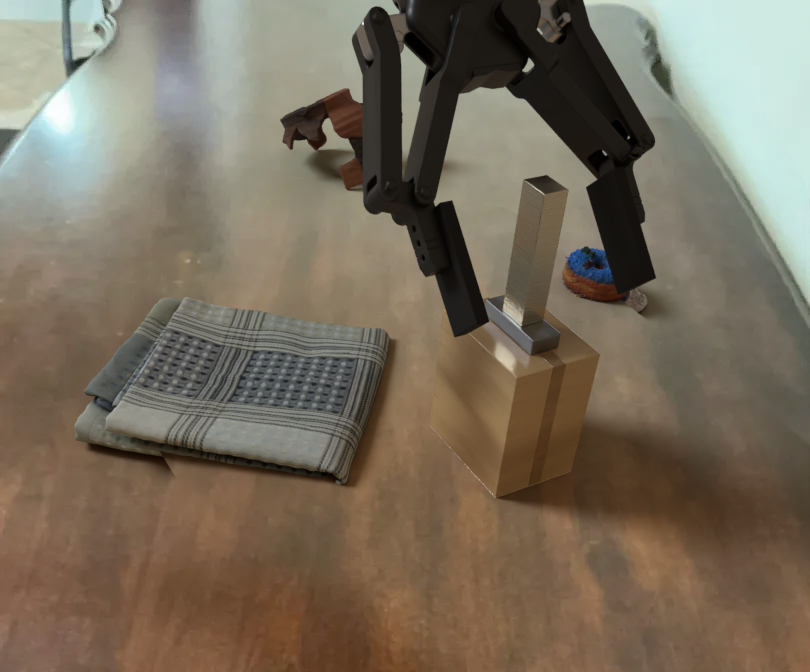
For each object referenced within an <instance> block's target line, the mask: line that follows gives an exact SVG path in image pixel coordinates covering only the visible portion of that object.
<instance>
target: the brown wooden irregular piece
mask: <svg viewBox="0 0 810 672" xmlns="http://www.w3.org/2000/svg"><path fill="white" fill-rule="evenodd" d="M403 116H404V113H403V112H402V117H403ZM327 119H329V120H330V122H331V125H332V128H333V131H334V132H335V133H336V135H337V136H338V137H340V138H341V139H345V140H348V142H349V145H350V146H351V149H352V150H353V152H354V157H353V158H352V159H351V160H350V161H347V162H345V163H343V164H342V165H340V166H339V167H338V172H339V175H340V176H341V178H342V181H343V184H344V188H345V189H346V190H350V189H352V188H356V187H358V186H361V185H363V102H358V101H357V100H355V99H354V98H353V96H352V94H351V89H350V88H346V87H344V88H342V89H339V90H337V91H335V92H332V93H331V94H329V95H326V96H325V97H323V98H320V99H318V100H315V102H313V103H311V104H308V105H306V106H301V107H300V108H296V109H295V110H293V111H291V112H288V113H287V114H285V115H283V117H282V118H280V119H279V122H280V123H281V124H282V127H283V129H284V132H283V136H282V140H281V142H282V143H283V144H285V145H286V146H287V148H288V149H289V150H290V151H292V150H293V149H294V142H295V141H306V142H307V144H308V145H309V146H310V147H311V149H313V150H314V151H318V150H319V149H320V148H322V147H323V146H325V144H327V141H328V137H327V134H326V133H325V132H324V130H323V124H324V122H325V121H326V120H327ZM403 121H404V120H403V118H402V123H403Z"/></svg>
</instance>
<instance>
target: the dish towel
mask: <svg viewBox="0 0 810 672" xmlns="http://www.w3.org/2000/svg"><path fill="white" fill-rule="evenodd" d="M390 344H391V337H390V335H389V334H388V332H387V330H385V329H384V328H383V327H362V326H350V325H345V324H343V325H340V324H333V323H324V322H320V321H310V320H303V319H297V318H294V317H289V316H285V315H282V314H281V315H280V314H276V313H271V312H267V311H262V310H255V309H244V308H236V307H229V306H224V305H219V304H213V303H210V302H209V303H208V302H206V301H203V300H199V299H196V298H193V297H189V296H188V297H187V296H184V297H183V298H182V299H180V298H176V297H172V296H165V297H164V298H160V299H159V300H158V302H157V303H155V304H154V305H153V307H152V308H151V310H150V311H149V312H148V314H147V315H145V318H144V320H143V321H142V322H141V323H140V324H139V325H138V327H137V329H136V330H135V331H134V332H133V333H132V335H130V337H128V338H127V339H126V340H125V341H124V343H122V345H120V346H119V347H118V348H117V350H116V352H115V353H114V354H113V356H112V357H111V359H110V360H108V361H107V363H105V365H104V366H103V367H102V368H101V370H100V371H99V372H98V373H97V374H96V375H95V376H94V377H93V378H92V379H91V380H90V382H89V383H88V384H87V385H86V387H85V388H84V390H83V392H84V394H85V395H86V396H88V397H93V399H92V400H91V401H90V402H89V403H88V404H87V405H86V407H85V409H84V411H83V412H82V413H81V414H79V416H78V417H77V419H76V421H75V423H74V425H73V428H74V431H75V435H74V440H75V441H77V442H81V443H85V444H93V445H98V446H103V447H108V448H111V449H116V450H120V451H125V452H132V453H138V454H143V455H144V454H145V455H151V456H157V457H160V458H161V457H162V458H163V457H164V456H163V454H162V453H167V454H175V455H178V456H179V455H180V456H183V457H184V456H185V457H186V456H187V457H193V458H197V459H204V460H211V461H214V462H215V461H216V462H219V463H224V464H225V463H226V464H231V465H238V466H247V467H254V468H261V469H267V470H275V471H278V472H279V471H280V472H284V473H285V472H286V473H292V474H296V475H303V476H304V475H306V476H309V477H320V478H323V479H328V477H329V476H330V474H331V475H333V476H334V477H335V478H334V482H335V484H337V485H339V486H343V485H346V483H347V482H348V479H349V475H350V469H351V467H352V463H353V461H354V460H355V459H354V458H355V456H356V452H357V449H358V447H359V444H360V441H361V439H362V436H363V434H364V432H365V429H366V426H367V423H368V422H369V417H370V414H371V410H372V408H373V404H374V400H375V398H376V394H377V392H378V388H379V385H380V383H381V379H382V378H383V372H384V369H385V365H386V363H387V359H388V355H389V348H390Z"/></svg>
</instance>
